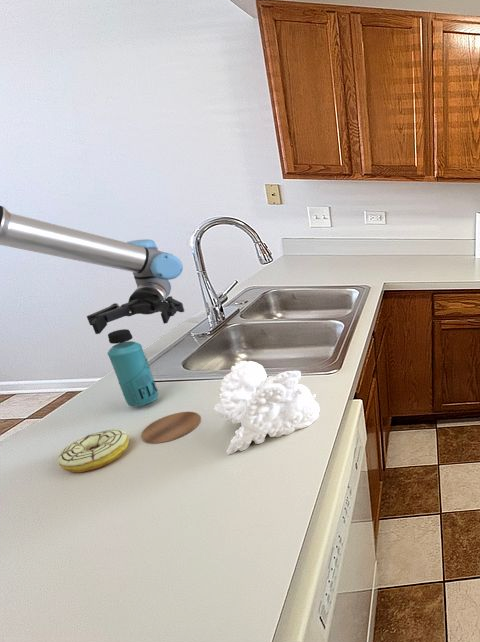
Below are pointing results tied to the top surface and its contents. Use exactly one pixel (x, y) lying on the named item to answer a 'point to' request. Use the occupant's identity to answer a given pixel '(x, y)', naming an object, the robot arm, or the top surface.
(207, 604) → the top surface
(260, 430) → the white ornate sculpture
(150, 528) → the top surface
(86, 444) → the decorated donut
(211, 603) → the top surface
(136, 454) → the top surface
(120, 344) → the beverage bottle
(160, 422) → the cork coaster
